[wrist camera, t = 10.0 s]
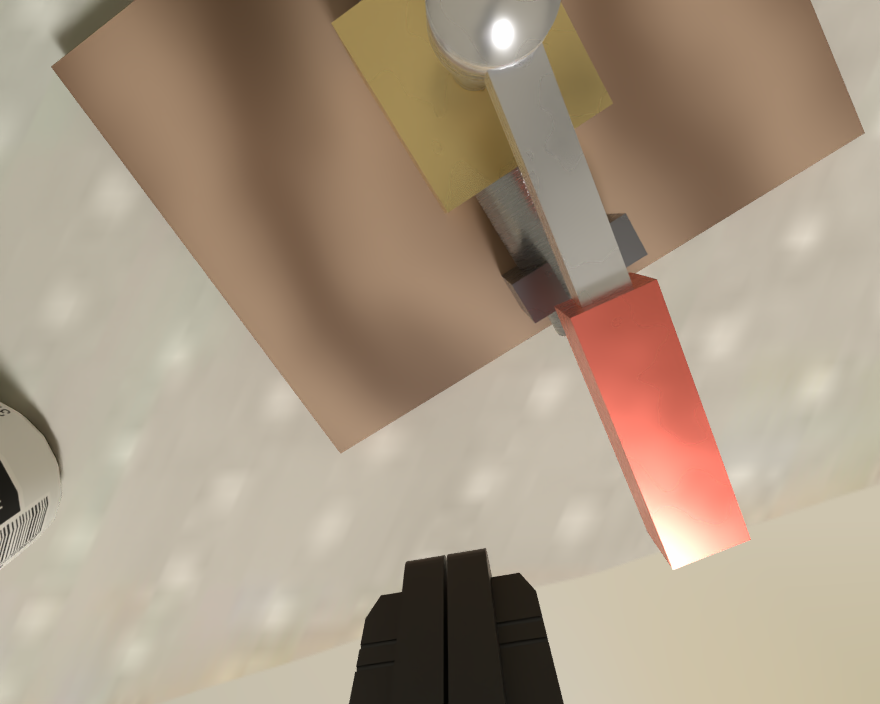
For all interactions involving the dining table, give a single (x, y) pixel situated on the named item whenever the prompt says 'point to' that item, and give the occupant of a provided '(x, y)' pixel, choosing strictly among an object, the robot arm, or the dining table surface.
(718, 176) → the valve board
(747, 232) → the dining table surface
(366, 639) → the robot arm
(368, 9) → the pipe valve
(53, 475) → the supplement can
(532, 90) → the valve lever
